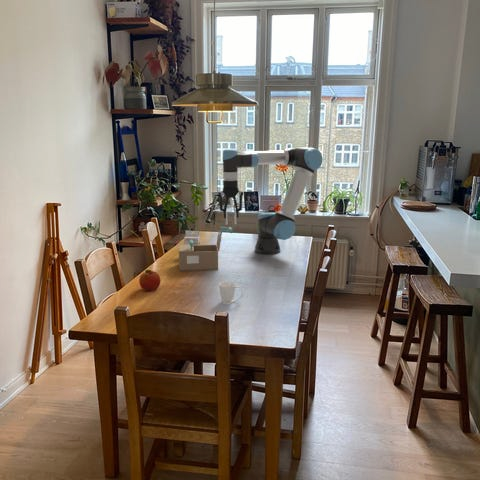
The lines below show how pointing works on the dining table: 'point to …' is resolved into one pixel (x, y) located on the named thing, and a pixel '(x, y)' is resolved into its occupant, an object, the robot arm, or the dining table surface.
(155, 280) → the fruit
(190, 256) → the carton
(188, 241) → the ink box
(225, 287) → the cup
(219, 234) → the flap
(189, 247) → the flap
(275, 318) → the dining table surface
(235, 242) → the dining table surface
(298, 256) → the dining table surface
